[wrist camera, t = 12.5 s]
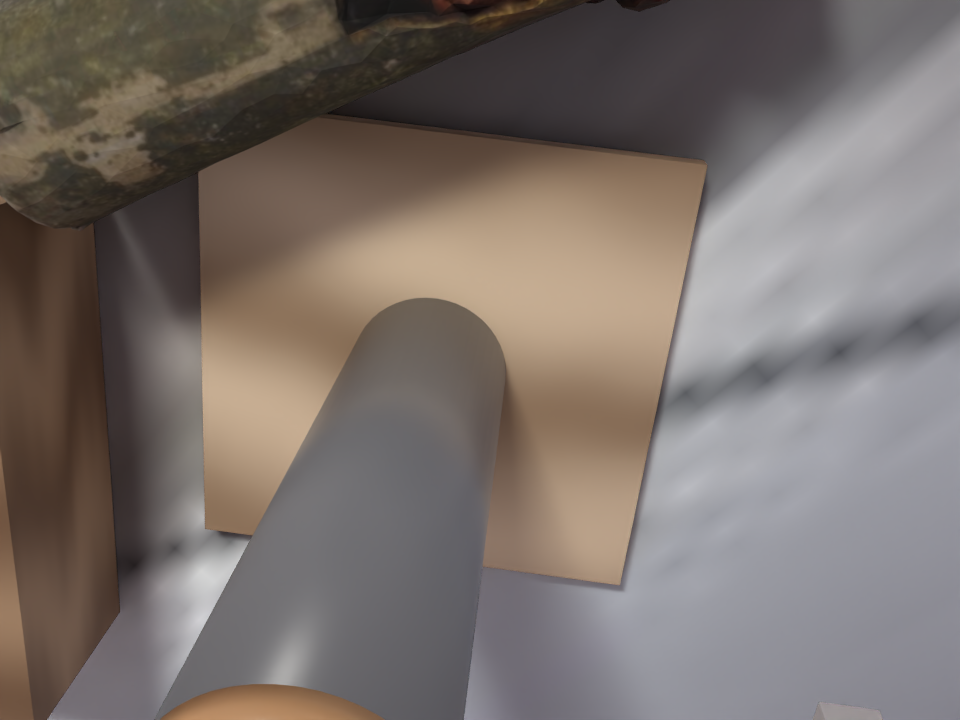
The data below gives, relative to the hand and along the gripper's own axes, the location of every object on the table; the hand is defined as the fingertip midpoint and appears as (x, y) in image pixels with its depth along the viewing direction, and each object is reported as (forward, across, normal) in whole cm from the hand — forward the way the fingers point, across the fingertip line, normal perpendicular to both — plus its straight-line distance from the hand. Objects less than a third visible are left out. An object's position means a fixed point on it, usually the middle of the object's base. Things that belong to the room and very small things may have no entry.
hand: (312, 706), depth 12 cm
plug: (+12, 0, -1) cm, 12 cm away
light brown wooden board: (+13, 0, -1) cm, 13 cm away
